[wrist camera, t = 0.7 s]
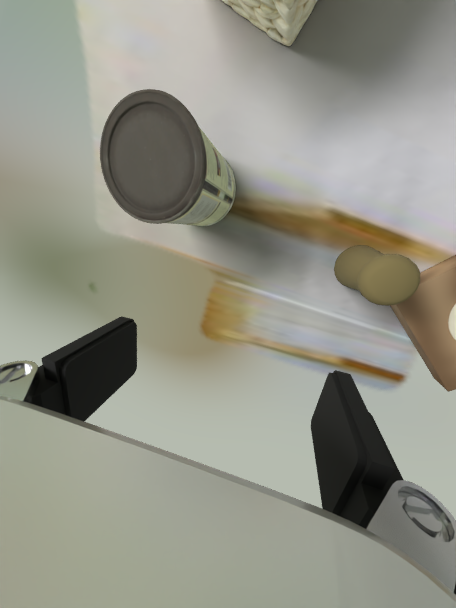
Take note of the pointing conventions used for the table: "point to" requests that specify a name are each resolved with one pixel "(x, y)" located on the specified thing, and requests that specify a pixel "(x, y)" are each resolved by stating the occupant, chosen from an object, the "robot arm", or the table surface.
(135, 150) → the coffee can
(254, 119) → the table surface
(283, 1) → the storage basket
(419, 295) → the base
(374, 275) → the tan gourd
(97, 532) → the robot arm
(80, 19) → the table surface
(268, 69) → the table surface
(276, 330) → the table surface
